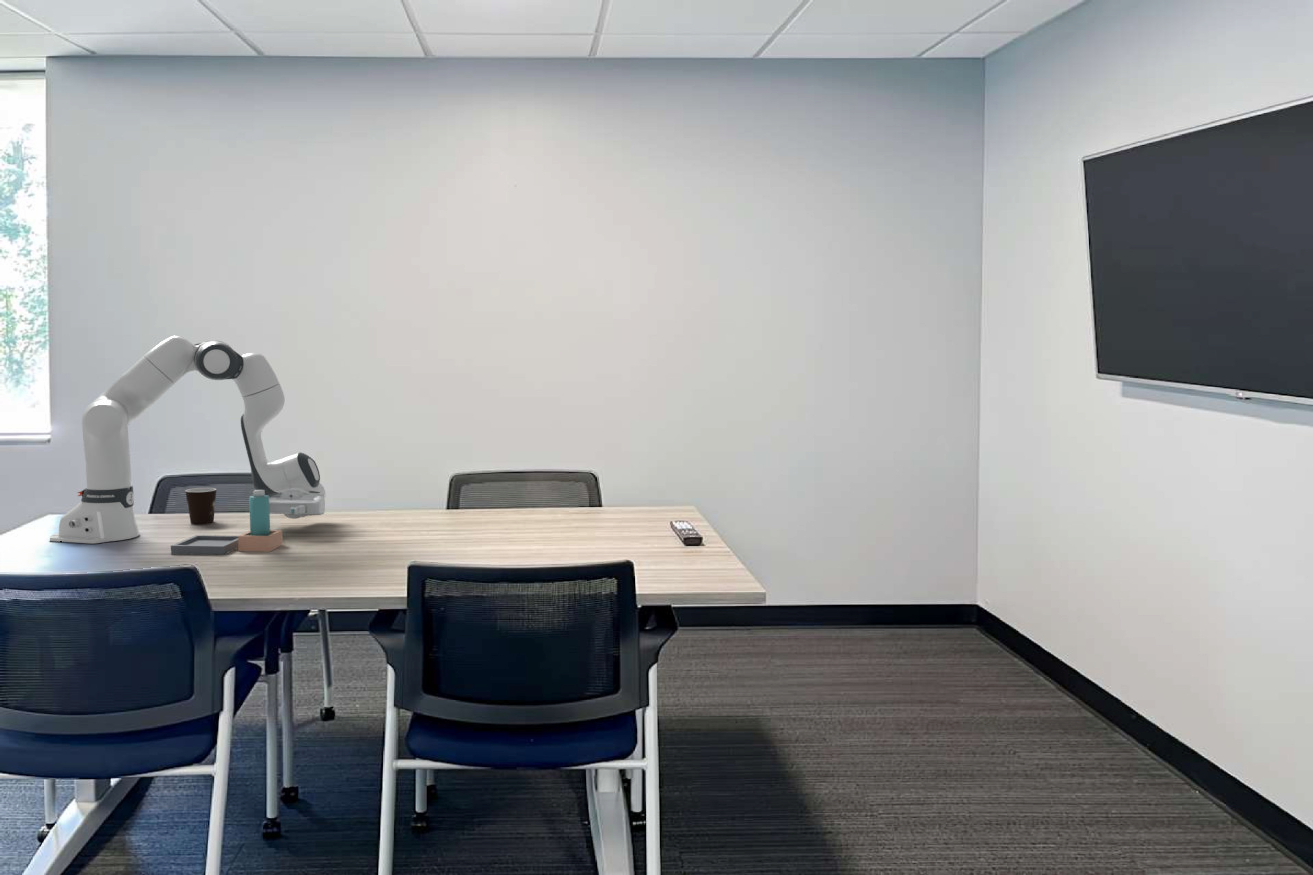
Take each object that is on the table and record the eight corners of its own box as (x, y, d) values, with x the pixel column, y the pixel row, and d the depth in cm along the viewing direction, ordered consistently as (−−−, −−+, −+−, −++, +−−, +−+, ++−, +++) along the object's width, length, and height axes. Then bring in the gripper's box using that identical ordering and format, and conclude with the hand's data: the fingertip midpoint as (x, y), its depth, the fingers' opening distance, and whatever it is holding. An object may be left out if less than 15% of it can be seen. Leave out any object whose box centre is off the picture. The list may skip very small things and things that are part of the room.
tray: (171, 553, 276) (170, 545, 275) (196, 542, 290) (196, 535, 289) (223, 554, 275) (223, 546, 275) (246, 543, 289) (246, 535, 289)
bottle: (247, 549, 282) (245, 491, 280) (255, 545, 286) (253, 488, 285) (266, 549, 281) (264, 492, 280) (273, 546, 286) (271, 489, 285)
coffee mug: (206, 525, 314) (205, 492, 313) (180, 524, 316) (179, 491, 315) (229, 518, 326) (228, 486, 325) (204, 517, 327) (203, 485, 326)
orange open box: (238, 550, 280) (237, 536, 279) (251, 544, 288) (251, 529, 288) (270, 551, 280) (269, 536, 279) (282, 544, 288) (282, 530, 288)
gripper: (259, 491, 308) (239, 499, 295) (329, 492, 308) (312, 500, 294) (260, 512, 309) (240, 521, 295) (329, 514, 308) (312, 522, 295)
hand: (276, 511), depth 295 cm, fingers open, 8 cm apart
